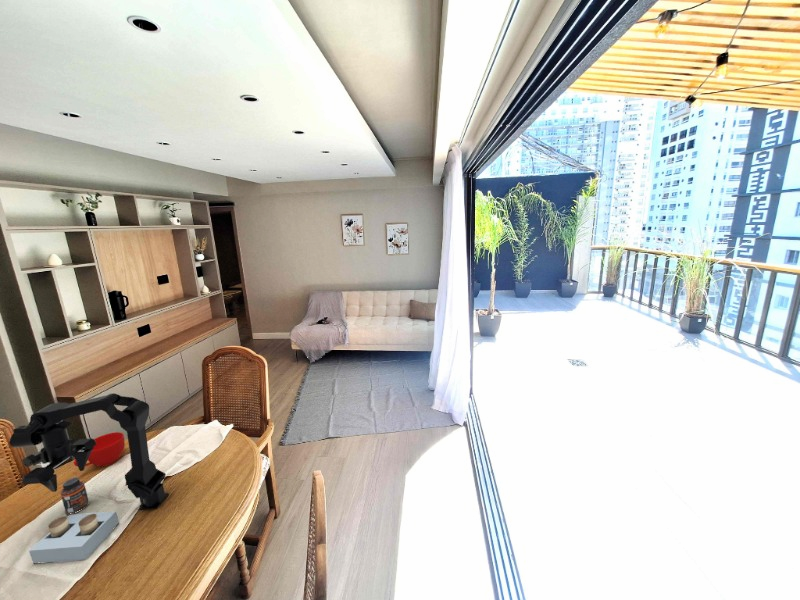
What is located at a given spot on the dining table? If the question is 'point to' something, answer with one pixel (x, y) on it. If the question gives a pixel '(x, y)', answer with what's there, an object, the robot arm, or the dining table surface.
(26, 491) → the dining table surface
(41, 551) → the block
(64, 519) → the plunger
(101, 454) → the ceramic cup
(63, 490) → the supplement bottle
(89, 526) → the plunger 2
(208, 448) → the dining table surface
